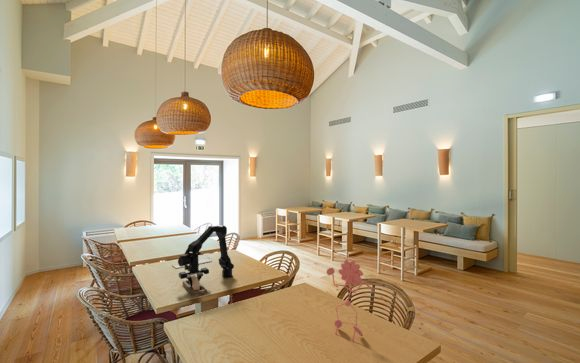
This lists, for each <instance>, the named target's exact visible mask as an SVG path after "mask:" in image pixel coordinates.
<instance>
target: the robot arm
mask: <svg viewBox="0 0 580 363" xmlns="http://www.w3.org/2000/svg"><path fill="white" fill-rule="evenodd" d="M213 233H215V235H216V237H217V238H218V245H219V252H220V257H219V258H218V265H219V266H220V268H221V269H222V270H221V271H222V272H221V276H222V277H223V278H225V279H229V278H232V277H234V275H233V269H234V268H235V265H234V264H233V263H232V261H231V260H232V259H231V257H230V256H229V255H228V248H227V247H228V246H227V240H226V236H227V233H228V229H227V226H226V225H221V224H217V225H216V226H215V225H214V226H213V225H209V226H208V227H207V228H206V229H205V231H204V232H202V234H201V235H200V236H199V237H198V238H197V239H196V240H193V241H192V242H190V243H189V244H188V246H187V248H186V250H185V251H184V254H182V255H179V257H178V260H177V264H179V266H185V267H184V271H179V273H178V278H179V279H180V280H183V279H186V280H189V283H190V284H189V286H190V287H191V288H192V277H191V275H194V274H195V275H196V277H197V278H198V280H199V282H200V281H201V279H202V277H203V276H204V275H208V274H210V270H209V269H208V268H207V267H202V268H200V270H199V266H200V264H198V260H199V256H201V255H202V253H201V252H200V251H201V249H202V247H203V244H205V242H206V241H207V240H208V239H209V238H210V237H211V236H212V234H213ZM188 264H189V266H188ZM186 271H187V272H186Z"/></svg>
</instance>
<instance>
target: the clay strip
mask: <svg viewBox="0 0 580 363" xmlns="http://www.w3.org/2000/svg"><path fill="white" fill-rule="evenodd" d="M191 277H192V287H191V288H192V289H193V290H194V291H199V290H200V289H199V283H200V281H199V280H198V278H197V274H194V275H191Z"/></svg>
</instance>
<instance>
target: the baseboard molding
mask: <svg viewBox="0 0 580 363" xmlns="http://www.w3.org/2000/svg"><path fill="white" fill-rule="evenodd" d="M212 262H213V261H212V259H211V258H209V257H208V256H207V257H206V258H203V259H198V264H199V265H203V264H207V263H212ZM171 266H172V268H174V269H175V270H177V268H178V269H181V268H182V267H183V268H185V266H179V264H178V263H176V264H172V265H171ZM188 266H189V264H188Z"/></svg>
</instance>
